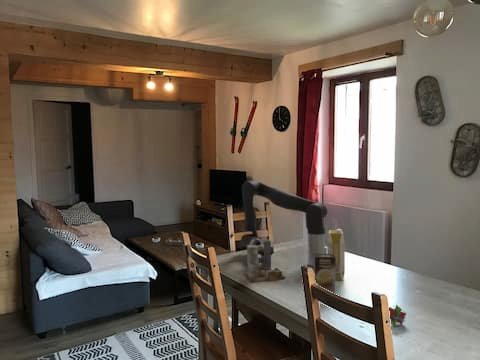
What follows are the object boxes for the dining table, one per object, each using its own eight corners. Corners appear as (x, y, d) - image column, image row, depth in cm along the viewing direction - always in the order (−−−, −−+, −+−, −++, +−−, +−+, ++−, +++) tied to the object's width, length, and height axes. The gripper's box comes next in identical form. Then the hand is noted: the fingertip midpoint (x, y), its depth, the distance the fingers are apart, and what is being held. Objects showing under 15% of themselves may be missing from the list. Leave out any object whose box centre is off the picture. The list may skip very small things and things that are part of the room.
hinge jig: (276, 271, 207) (275, 240, 206) (284, 278, 195) (284, 246, 193) (244, 274, 203) (244, 243, 202) (251, 282, 191) (251, 249, 189)
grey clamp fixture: (268, 266, 215) (267, 239, 214) (271, 269, 211) (270, 241, 209) (253, 267, 214) (253, 240, 212) (256, 270, 209) (256, 242, 208)
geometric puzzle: (405, 314, 146) (392, 297, 146) (414, 322, 139) (401, 304, 139) (390, 326, 146) (377, 309, 146) (398, 334, 139) (384, 317, 139)
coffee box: (314, 293, 175) (314, 257, 173) (313, 288, 181) (312, 253, 180) (335, 293, 174) (335, 257, 172) (333, 288, 180) (333, 253, 179)
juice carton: (344, 281, 189) (344, 231, 187) (327, 281, 190) (327, 231, 188) (343, 275, 198) (343, 227, 196) (327, 274, 199) (327, 227, 197)
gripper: (245, 240, 224) (254, 247, 207) (269, 238, 227) (280, 245, 211) (245, 253, 224) (254, 262, 208) (270, 251, 228) (280, 259, 211)
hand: (267, 253), depth 209 cm, fingers closed on grey clamp fixture, 4 cm apart
